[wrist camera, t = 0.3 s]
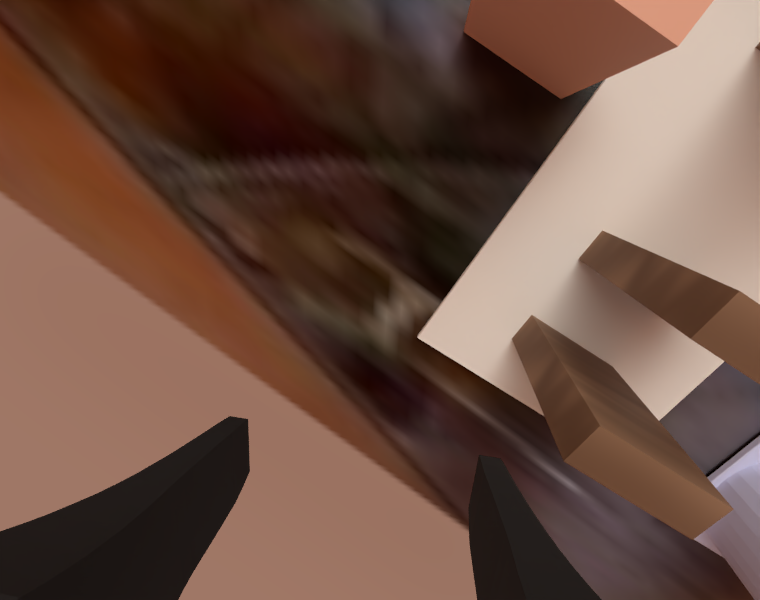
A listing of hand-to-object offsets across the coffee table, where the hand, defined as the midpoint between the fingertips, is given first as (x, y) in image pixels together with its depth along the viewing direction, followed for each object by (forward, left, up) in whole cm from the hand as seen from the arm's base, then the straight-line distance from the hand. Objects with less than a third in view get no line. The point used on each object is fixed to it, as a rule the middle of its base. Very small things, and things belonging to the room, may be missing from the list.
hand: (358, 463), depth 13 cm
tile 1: (-8, -4, -10) cm, 13 cm away
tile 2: (-8, -9, -10) cm, 15 cm away
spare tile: (+2, -14, -10) cm, 17 cm away
